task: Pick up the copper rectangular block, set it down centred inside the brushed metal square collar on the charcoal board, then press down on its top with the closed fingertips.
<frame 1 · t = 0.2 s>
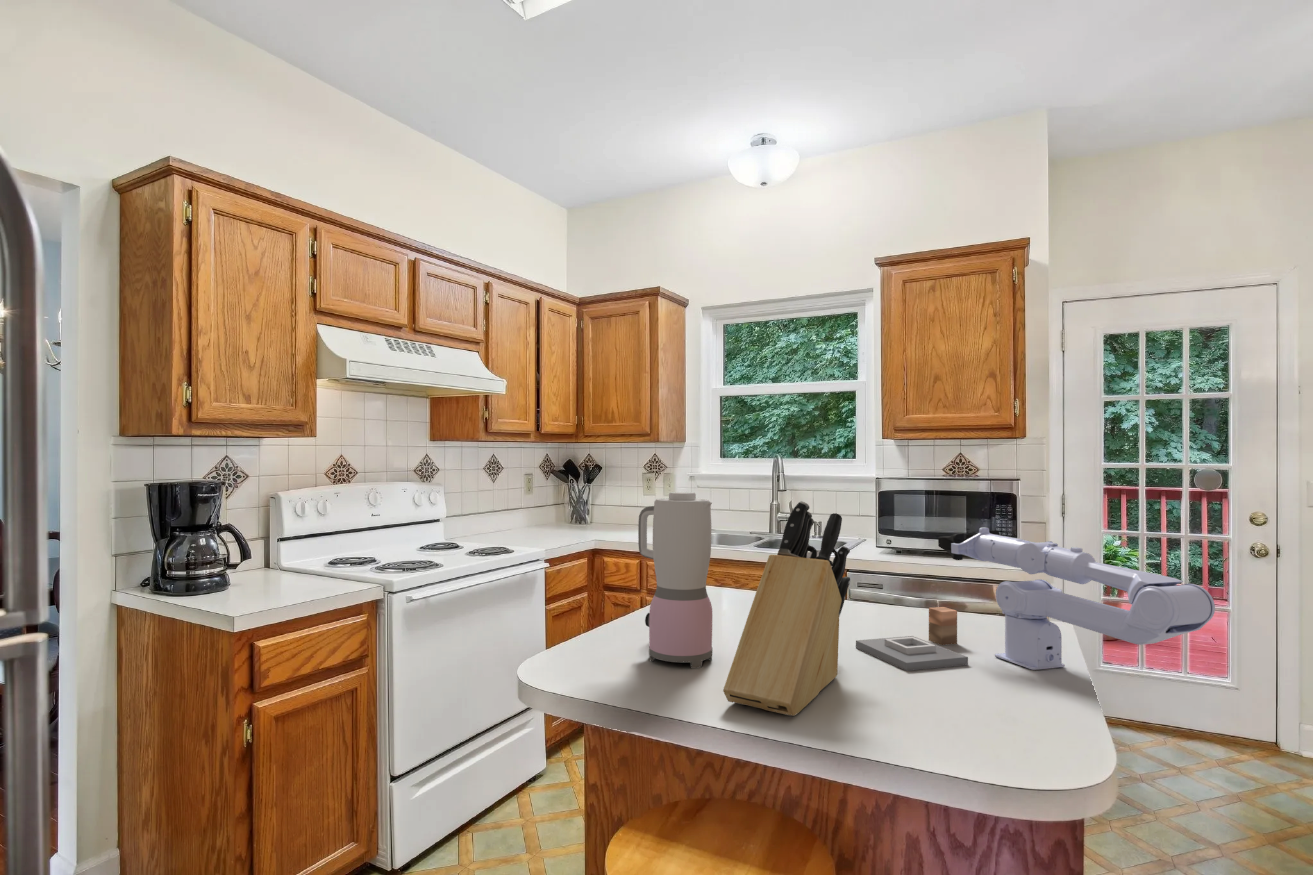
hand: (953, 540, 153), 21 cm above the countertop, tool horizontal, fingers open, 7 cm apart
knife block: (794, 686, 118), on the countertop
plastic bottle: (812, 649, 141), on the countertop
copper rectangular block: (942, 642, 148), on the countertop
collar board: (909, 655, 137), on the countertop
blender: (672, 659, 133), on the countertop
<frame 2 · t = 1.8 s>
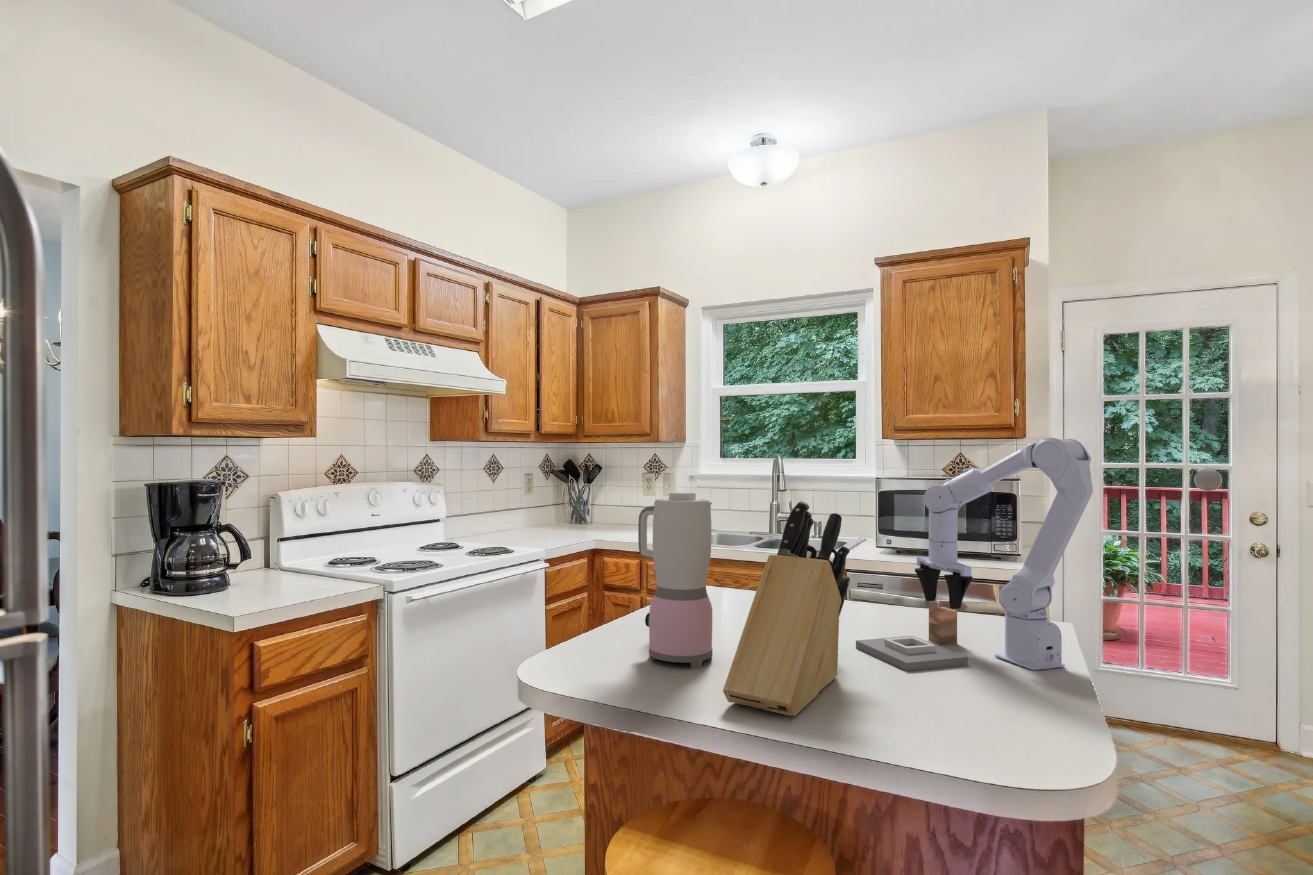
hand: (942, 604, 148), 8 cm above the countertop, tool pointing down, fingers open, 7 cm apart
nothing on the countertop moved.
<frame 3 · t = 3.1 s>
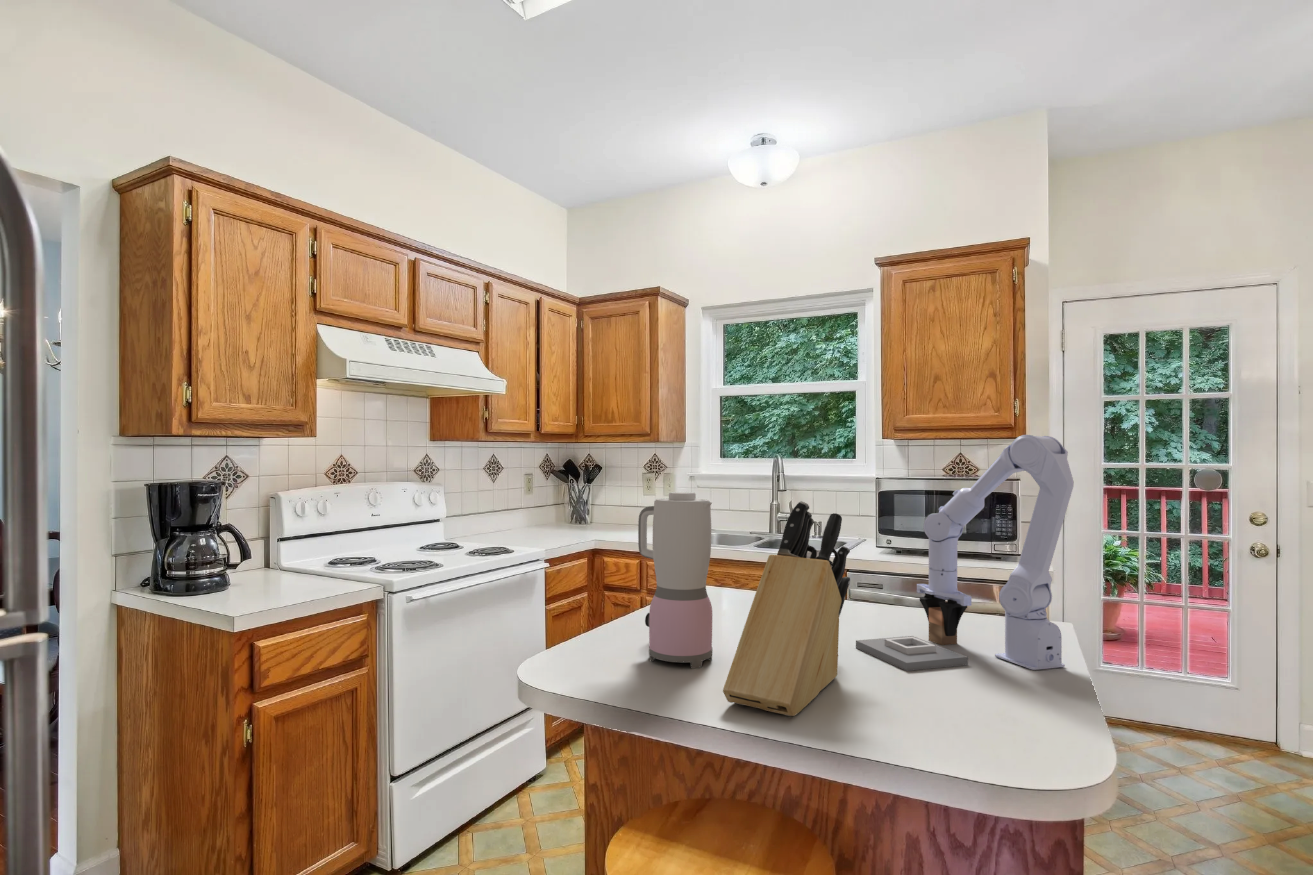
hand: (942, 632, 148), 2 cm above the countertop, tool pointing down, fingers closed on copper rectangular block, 4 cm apart
copper rectangular block: (942, 641, 148), on the countertop, touching gripper
everything else where it was.
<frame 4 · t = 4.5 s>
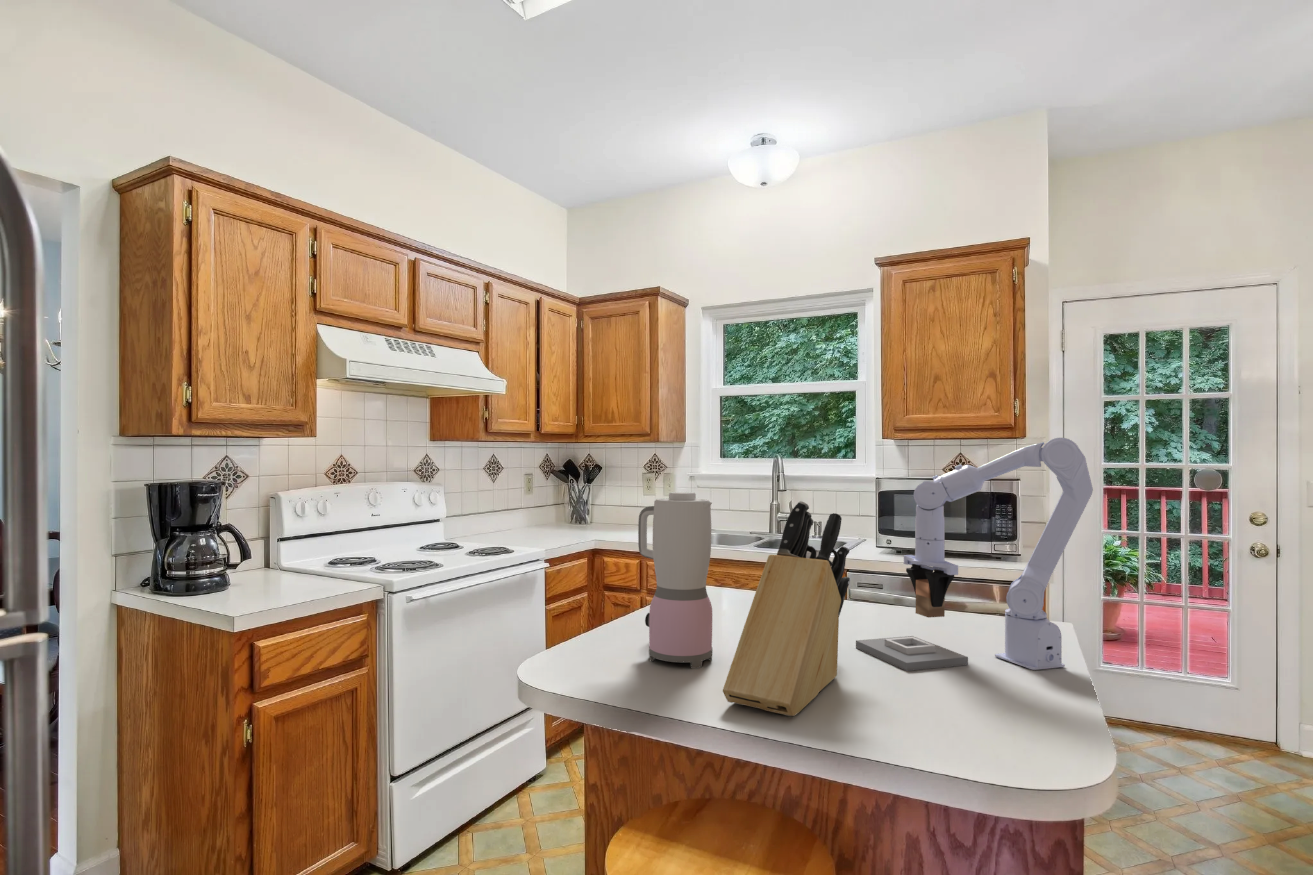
hand: (929, 604, 144), 9 cm above the countertop, tool pointing down, fingers closed on copper rectangular block, 4 cm apart
copper rectangular block: (929, 614, 144), point 7 cm above the countertop, touching gripper
everything else where it was.
when the fingers open (4 cm above the countertop, at t = 6.3 s): copper rectangular block stays where it is, resting on collar board.
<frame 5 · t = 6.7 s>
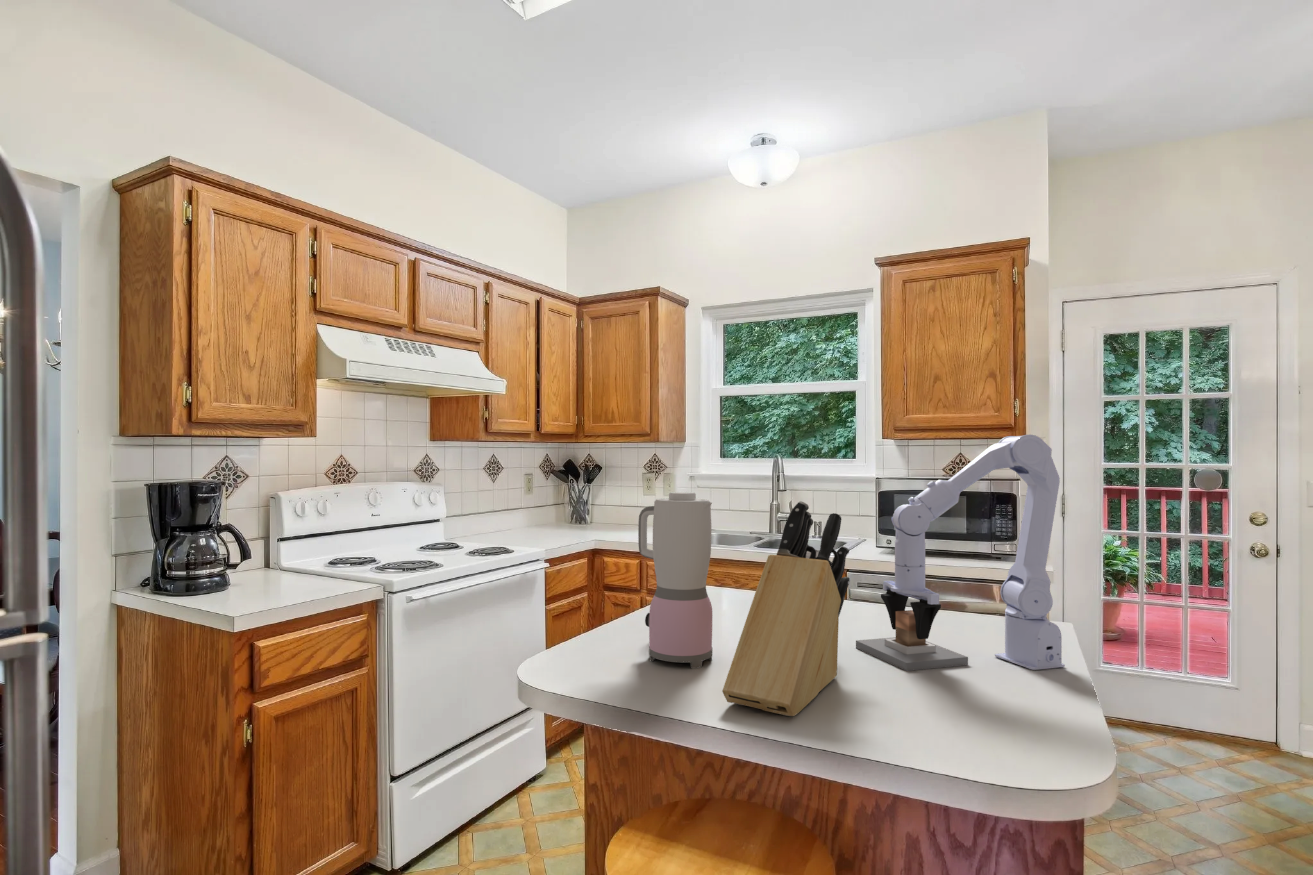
hand: (909, 633, 137), 4 cm above the countertop, tool pointing down, fingers open, 7 cm apart
copper rectangular block: (910, 648, 137), point 1 cm above the countertop, touching collar board
everything else where it was.
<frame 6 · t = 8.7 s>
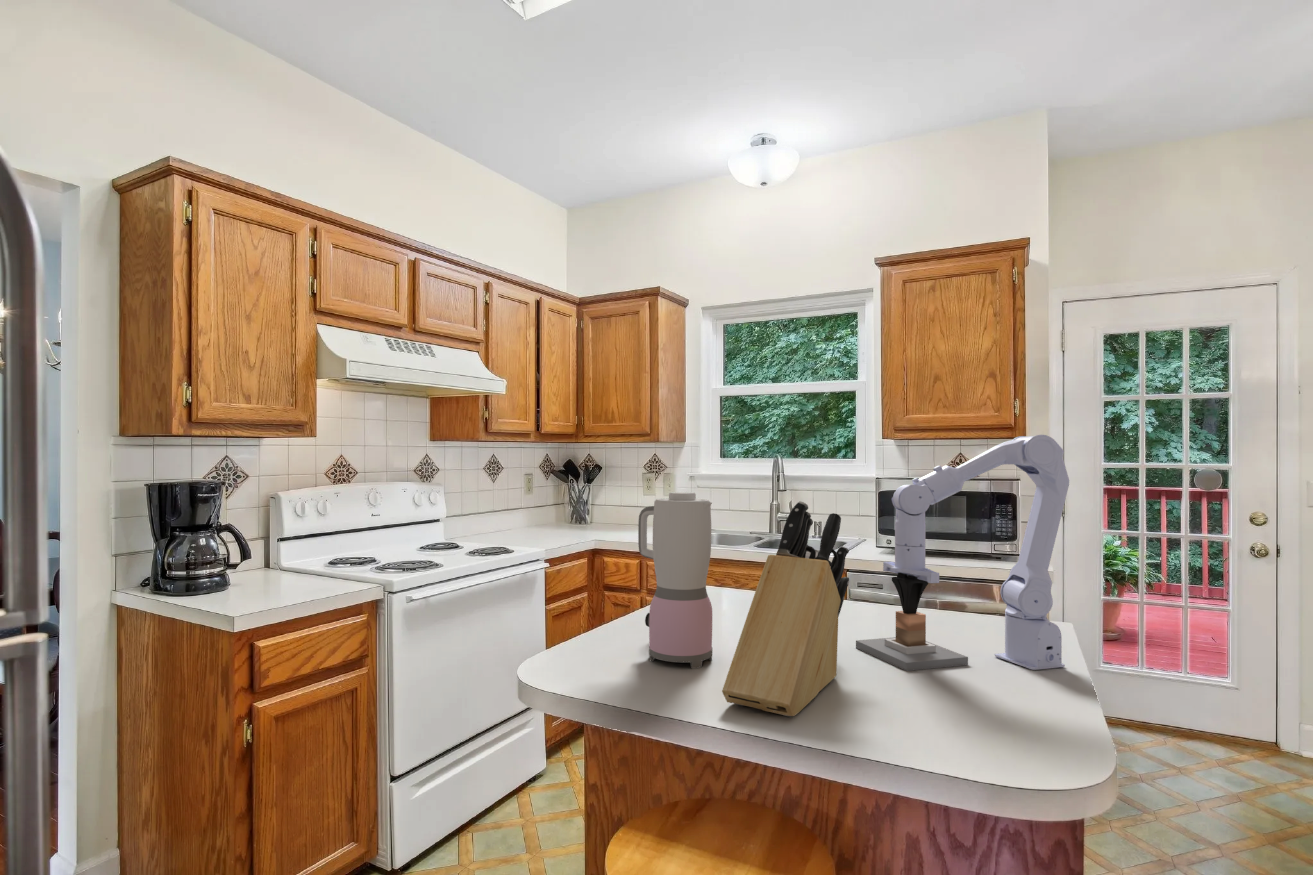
hand: (909, 613, 137), 8 cm above the countertop, tool pointing down, fingers closed, pressing on copper rectangular block
copper rectangular block: (910, 648, 137), point 1 cm above the countertop, touching collar board, gripper
everything else where it was.
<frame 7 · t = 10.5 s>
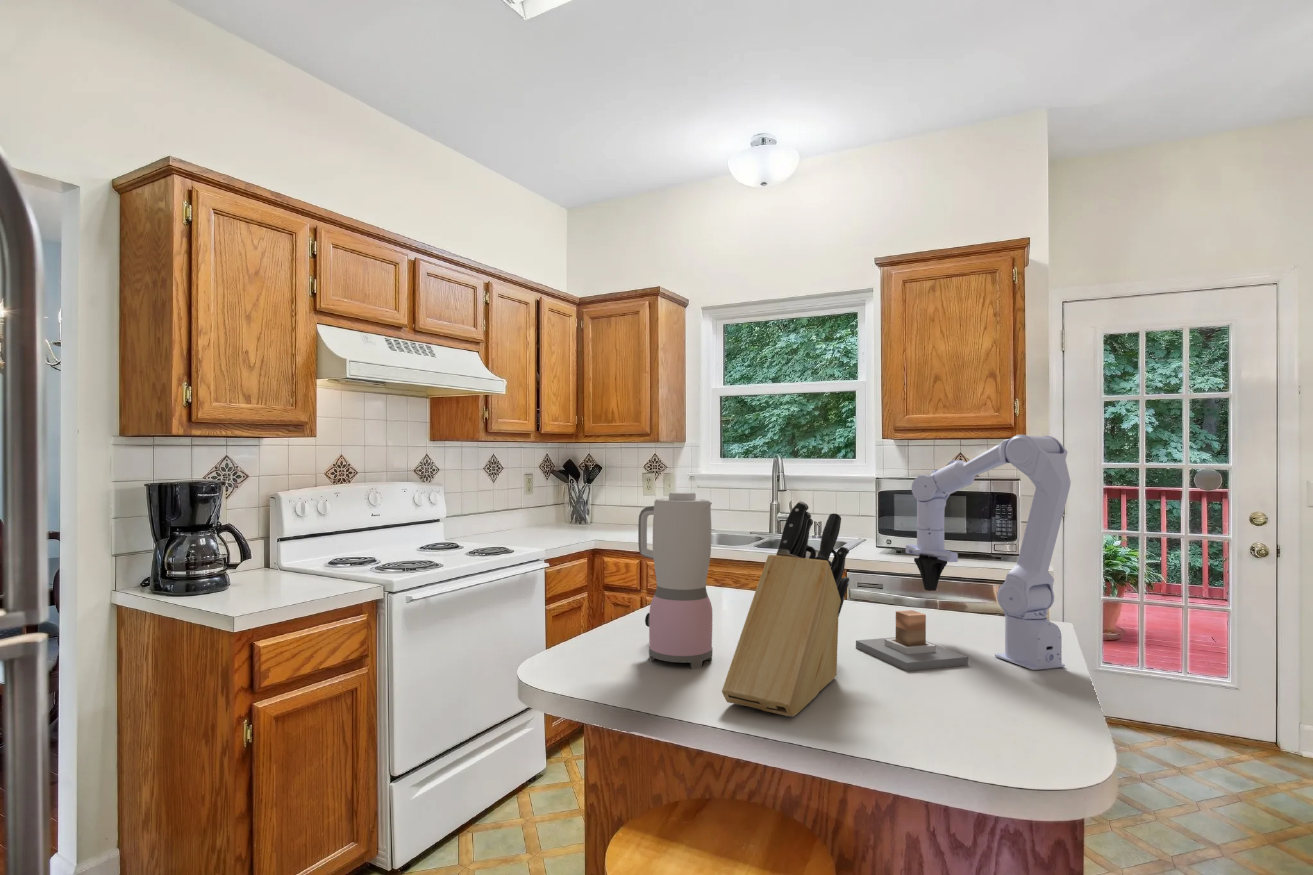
hand: (930, 590, 154), 10 cm above the countertop, tool pointing down, fingers closed
copper rectangular block: (910, 648, 137), point 1 cm above the countertop, touching collar board
everything else where it was.
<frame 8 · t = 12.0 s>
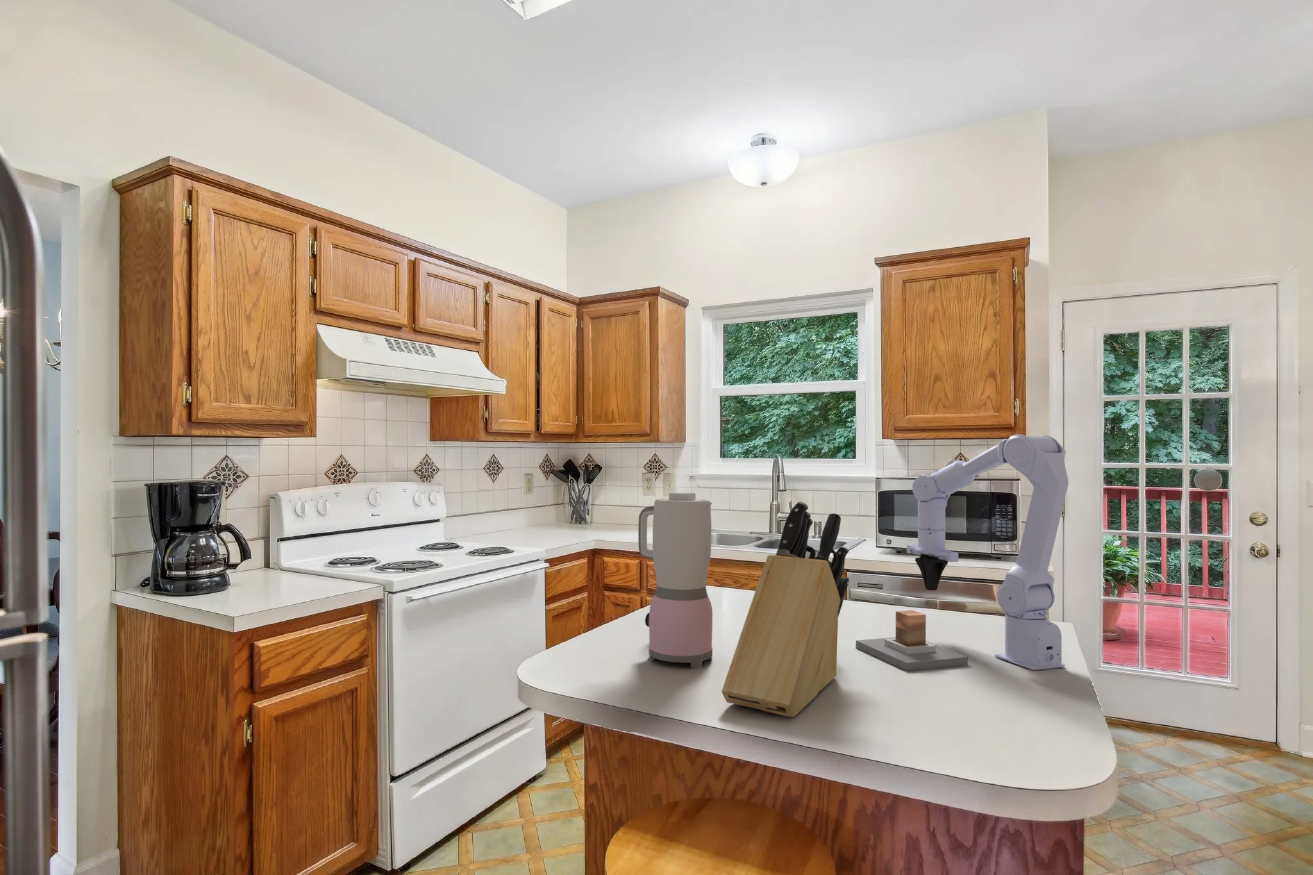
hand: (931, 589, 154), 10 cm above the countertop, tool pointing down, fingers closed
nothing on the countertop moved.
at the end: copper rectangular block 0.2 cm off-centre on the collar board, point 1.5 cm above the collar board's base; copper rectangular block tilted 0°; the gripper is holding nothing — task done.
